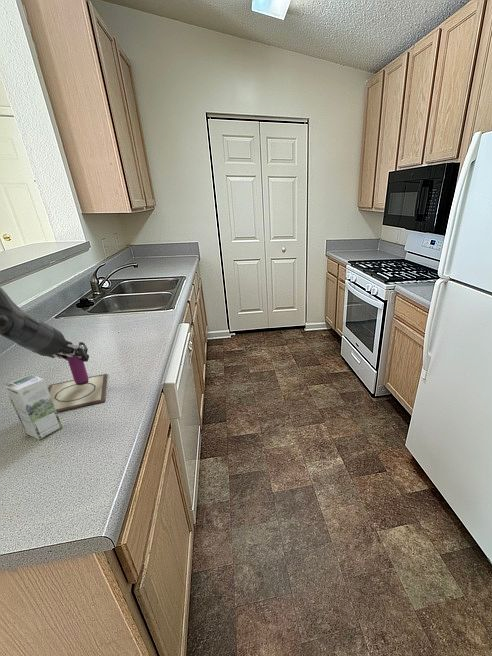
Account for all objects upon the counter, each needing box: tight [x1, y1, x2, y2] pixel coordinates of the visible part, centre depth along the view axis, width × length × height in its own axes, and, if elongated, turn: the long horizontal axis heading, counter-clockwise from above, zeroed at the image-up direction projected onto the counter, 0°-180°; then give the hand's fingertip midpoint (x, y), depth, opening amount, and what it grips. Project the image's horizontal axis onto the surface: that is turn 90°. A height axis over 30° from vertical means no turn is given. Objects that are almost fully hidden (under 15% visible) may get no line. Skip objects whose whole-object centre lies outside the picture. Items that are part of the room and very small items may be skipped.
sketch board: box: [47, 373, 108, 414], centre depth 99 cm, size 16×18×1 cm
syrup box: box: [3, 374, 63, 441], centre depth 80 cm, size 6×6×14 cm
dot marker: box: [67, 352, 89, 385], centre depth 97 cm, size 4×4×11 cm
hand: (79, 358), depth 99 cm, fingers closed on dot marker, 3 cm apart
